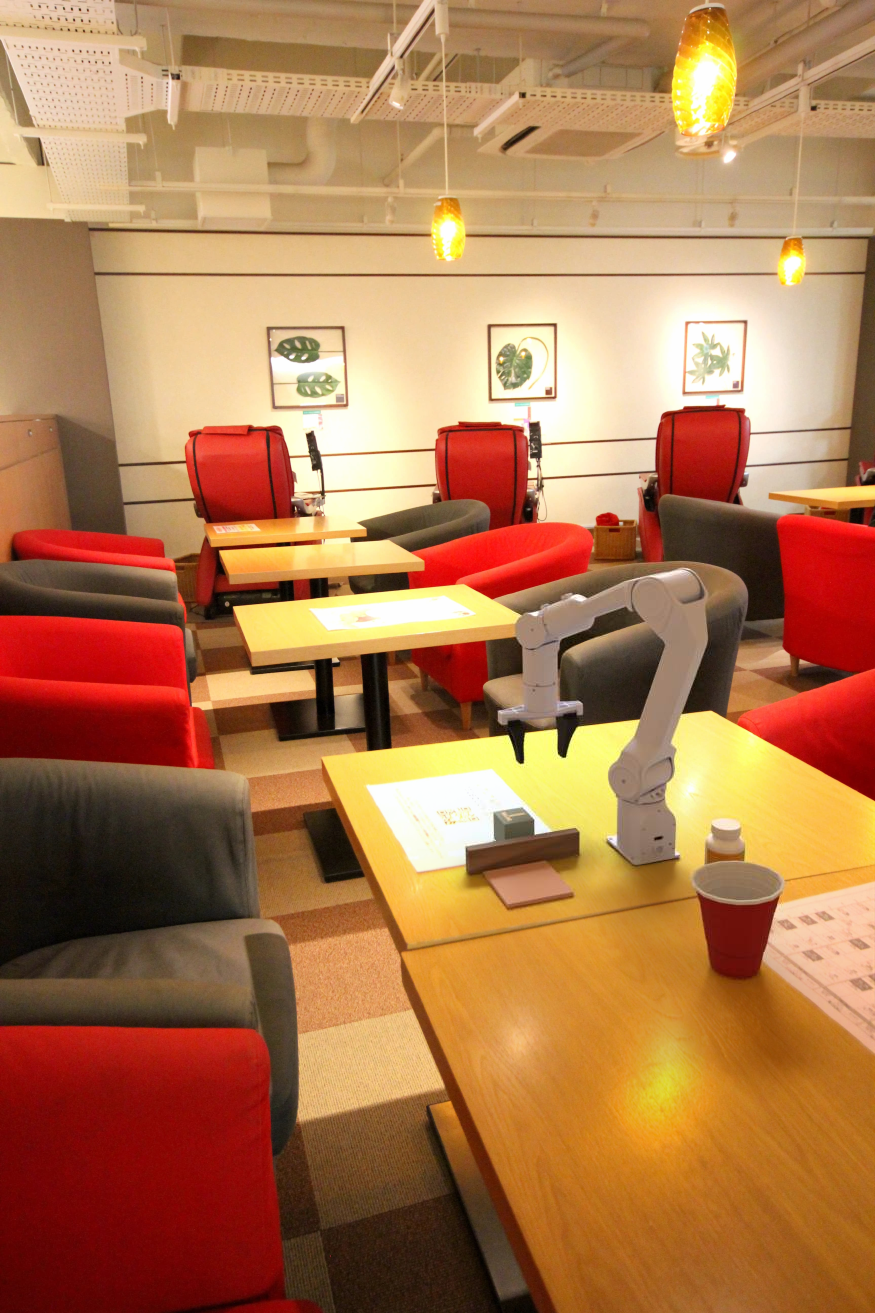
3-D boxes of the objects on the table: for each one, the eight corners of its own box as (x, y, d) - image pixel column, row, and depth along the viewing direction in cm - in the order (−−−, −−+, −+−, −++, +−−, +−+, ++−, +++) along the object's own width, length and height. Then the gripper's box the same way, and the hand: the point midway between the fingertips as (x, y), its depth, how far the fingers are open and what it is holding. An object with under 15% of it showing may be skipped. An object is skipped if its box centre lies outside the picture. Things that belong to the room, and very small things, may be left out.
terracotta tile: (573, 895, 129) (573, 891, 129) (507, 908, 126) (507, 904, 126) (545, 864, 138) (545, 860, 138) (483, 875, 135) (483, 871, 135)
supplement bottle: (748, 895, 127) (751, 832, 125) (709, 896, 127) (712, 832, 125) (736, 876, 132) (739, 815, 130) (699, 877, 132) (701, 816, 130)
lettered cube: (534, 848, 143) (534, 819, 142) (504, 854, 142) (504, 824, 141) (522, 835, 148) (522, 806, 147) (493, 840, 147) (493, 811, 145)
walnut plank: (579, 855, 140) (579, 831, 139) (469, 875, 135) (468, 850, 134) (575, 851, 142) (575, 827, 141) (466, 870, 137) (465, 846, 136)
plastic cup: (708, 931, 119) (712, 848, 116) (792, 960, 112) (798, 872, 109) (671, 971, 111) (674, 882, 108) (759, 1004, 104) (765, 910, 101)
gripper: (570, 671, 156) (571, 745, 159) (491, 680, 152) (492, 756, 156) (588, 681, 149) (588, 759, 153) (505, 691, 146) (506, 771, 149)
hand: (541, 759), depth 154 cm, fingers open, 7 cm apart
